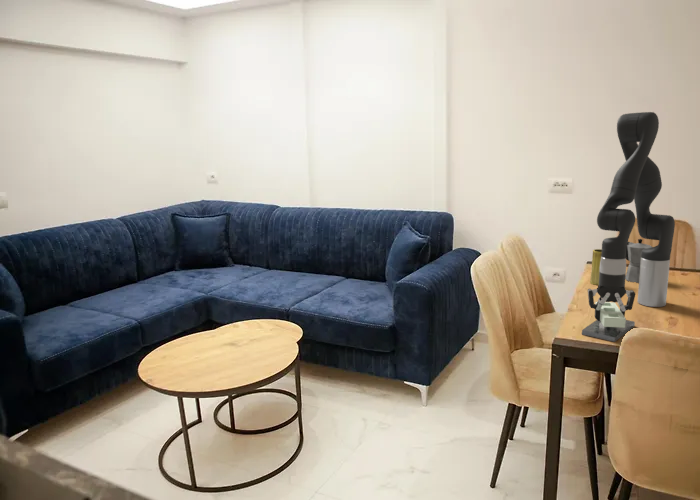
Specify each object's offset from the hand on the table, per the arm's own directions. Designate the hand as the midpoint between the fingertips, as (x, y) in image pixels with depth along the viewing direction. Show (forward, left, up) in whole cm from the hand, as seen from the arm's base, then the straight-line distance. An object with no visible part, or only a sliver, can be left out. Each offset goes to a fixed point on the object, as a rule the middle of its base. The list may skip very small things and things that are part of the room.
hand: (609, 320), depth 172 cm
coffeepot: (-67, -13, -3) cm, 68 cm away
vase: (-52, -23, -3) cm, 57 cm away
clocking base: (0, 0, -3) cm, 3 cm away
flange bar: (0, 0, +1) cm, 1 cm away
